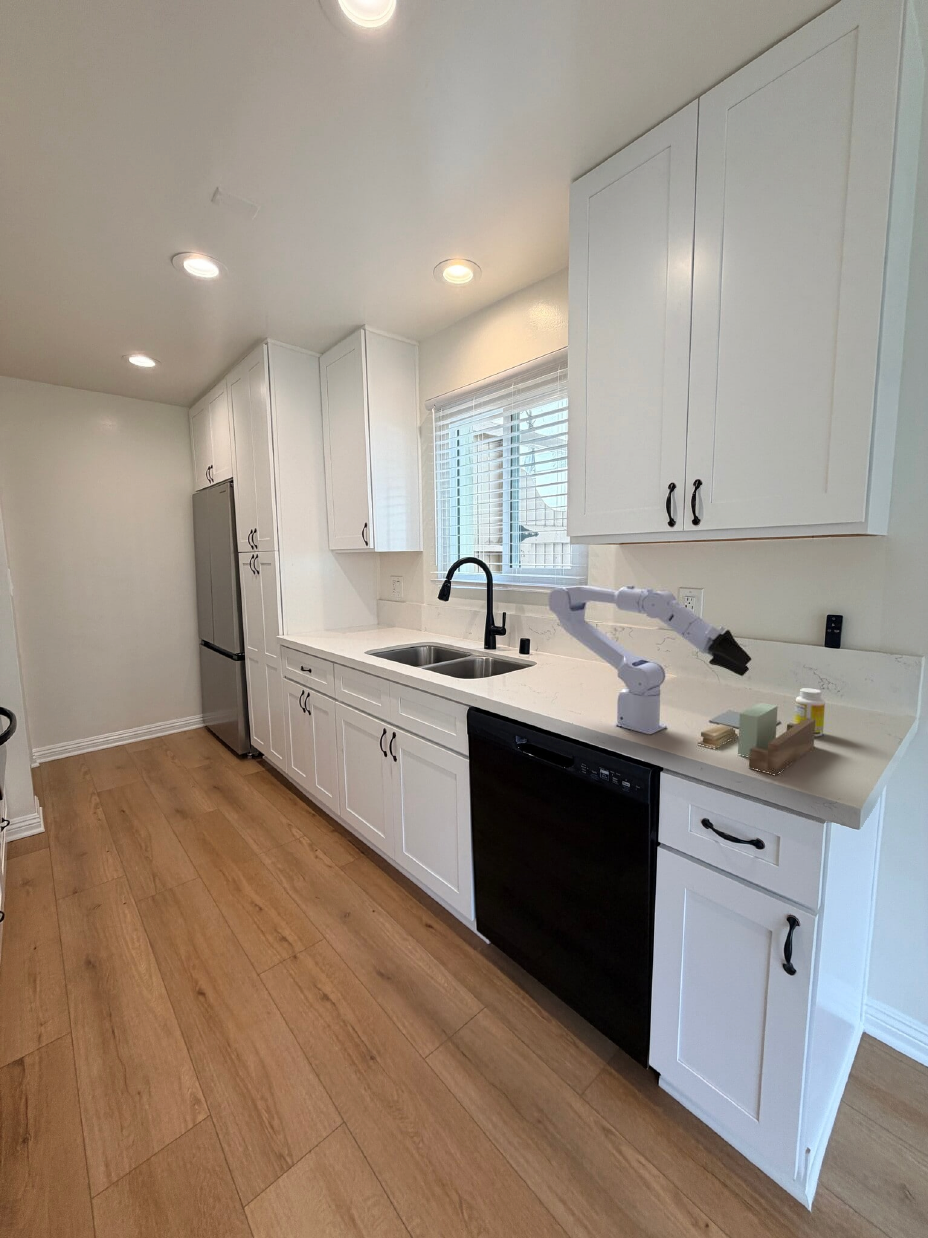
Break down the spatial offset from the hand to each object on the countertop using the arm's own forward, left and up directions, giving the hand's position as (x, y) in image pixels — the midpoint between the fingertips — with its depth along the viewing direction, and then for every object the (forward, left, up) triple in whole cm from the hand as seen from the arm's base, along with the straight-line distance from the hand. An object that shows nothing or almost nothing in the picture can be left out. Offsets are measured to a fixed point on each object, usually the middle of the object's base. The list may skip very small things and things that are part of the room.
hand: (746, 667), depth 106 cm
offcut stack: (-6, +3, -18) cm, 20 cm away
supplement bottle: (+6, +22, -18) cm, 29 cm away
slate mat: (-7, +20, -18) cm, 27 cm away
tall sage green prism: (+2, +3, -18) cm, 18 cm away
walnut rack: (+7, +3, -18) cm, 19 cm away
